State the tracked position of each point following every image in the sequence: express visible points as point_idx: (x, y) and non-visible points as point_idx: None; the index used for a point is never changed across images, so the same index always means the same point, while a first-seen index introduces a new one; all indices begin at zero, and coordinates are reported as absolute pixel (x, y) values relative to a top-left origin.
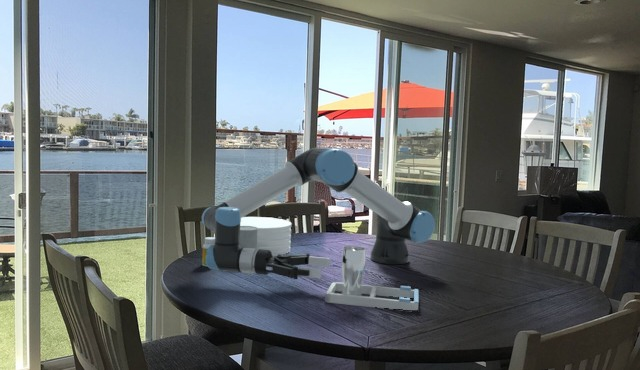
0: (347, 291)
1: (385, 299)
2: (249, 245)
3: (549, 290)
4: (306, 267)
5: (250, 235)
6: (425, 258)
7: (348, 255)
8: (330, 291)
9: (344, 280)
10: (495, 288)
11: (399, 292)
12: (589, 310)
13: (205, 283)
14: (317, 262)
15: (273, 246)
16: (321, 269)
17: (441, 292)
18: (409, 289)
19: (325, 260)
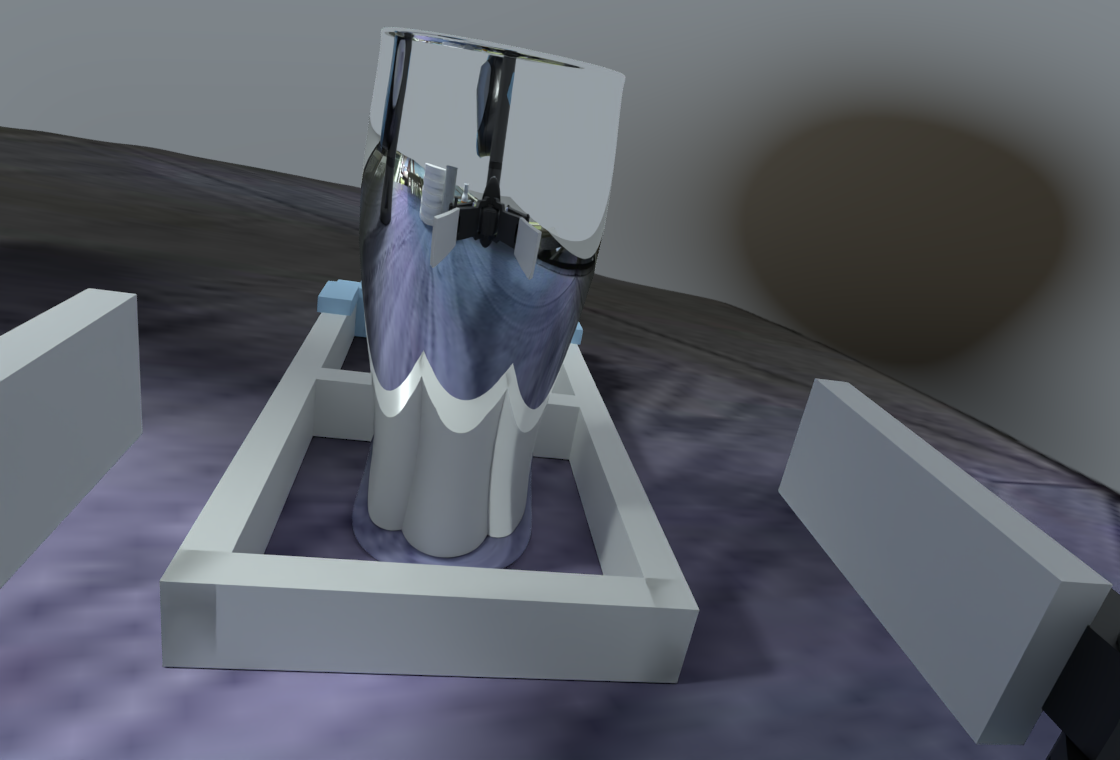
0: (525, 481)
1: (582, 369)
2: None
3: (165, 173)
4: (972, 490)
5: None
6: None
7: (615, 140)
8: (596, 580)
9: (526, 411)
10: (137, 204)
11: (344, 334)
12: (353, 192)
13: None
14: (23, 480)
15: None
16: (826, 388)
17: (209, 274)
18: (357, 295)
19: (103, 354)
